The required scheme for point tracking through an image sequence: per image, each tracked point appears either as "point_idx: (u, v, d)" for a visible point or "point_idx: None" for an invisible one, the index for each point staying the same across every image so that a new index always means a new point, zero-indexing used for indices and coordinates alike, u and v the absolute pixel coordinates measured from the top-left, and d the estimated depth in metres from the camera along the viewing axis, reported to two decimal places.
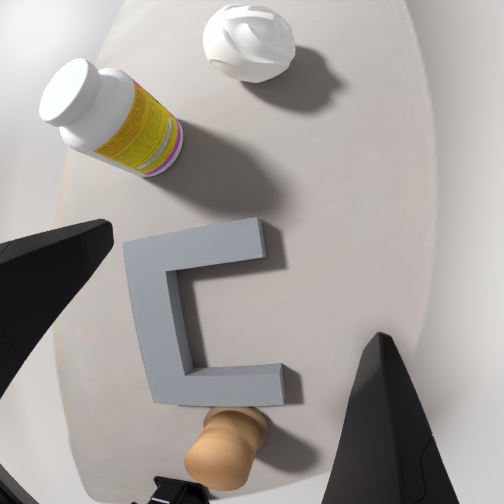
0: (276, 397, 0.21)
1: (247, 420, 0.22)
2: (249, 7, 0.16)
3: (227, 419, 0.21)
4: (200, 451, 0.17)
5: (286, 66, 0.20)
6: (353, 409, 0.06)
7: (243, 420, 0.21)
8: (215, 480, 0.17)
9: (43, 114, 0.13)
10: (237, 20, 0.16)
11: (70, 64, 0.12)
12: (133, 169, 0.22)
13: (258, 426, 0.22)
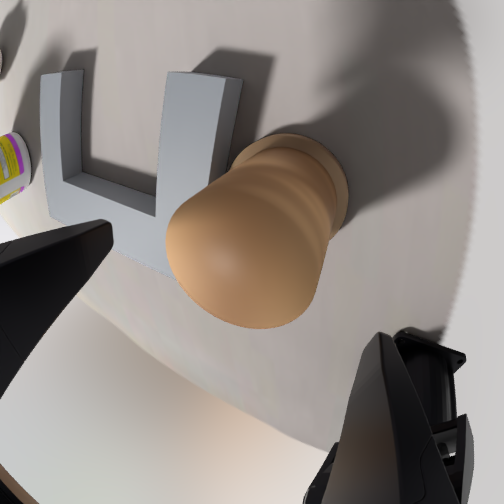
0: (207, 86, 0.11)
1: None
2: None
3: None
4: (174, 260, 0.10)
5: None
6: (353, 409, 0.06)
7: None
8: (271, 289, 0.09)
9: None
10: None
11: None
12: (7, 181, 0.18)
13: (284, 148, 0.12)
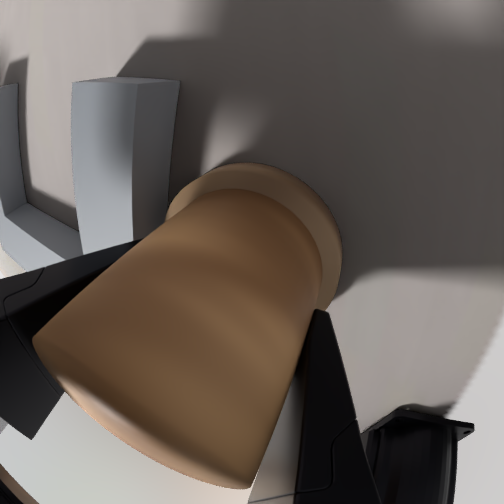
0: (116, 99, 0.06)
1: (183, 208, 0.08)
2: None
3: None
4: (63, 387, 0.05)
5: None
6: None
7: None
8: (186, 464, 0.04)
9: None
10: None
11: None
12: None
13: (238, 191, 0.08)
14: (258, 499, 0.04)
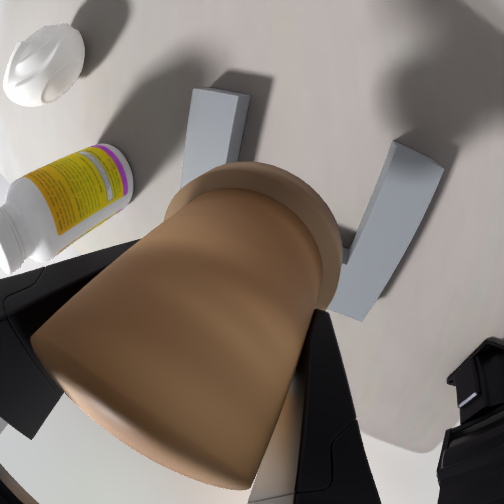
0: (430, 171, 0.13)
1: (182, 207, 0.08)
2: (8, 62, 0.12)
3: None
4: (61, 388, 0.05)
5: (72, 32, 0.14)
6: None
7: None
8: (185, 465, 0.04)
9: (7, 270, 0.14)
10: (11, 73, 0.12)
11: None
12: (110, 204, 0.20)
13: (238, 190, 0.08)
14: (258, 499, 0.04)
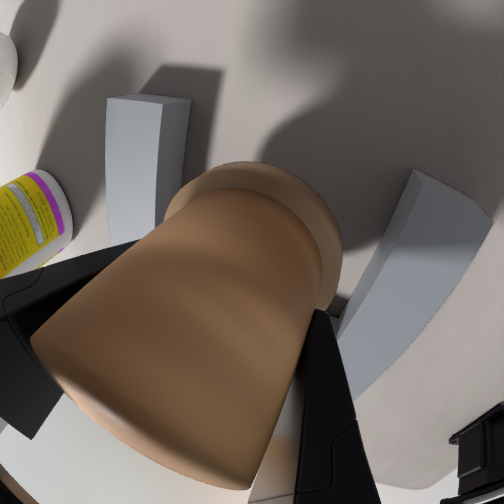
0: (471, 225, 0.07)
1: (182, 207, 0.08)
2: None
3: None
4: (61, 387, 0.05)
5: None
6: None
7: None
8: (185, 464, 0.04)
9: None
10: None
11: None
12: (42, 248, 0.15)
13: (238, 190, 0.08)
14: (258, 499, 0.04)
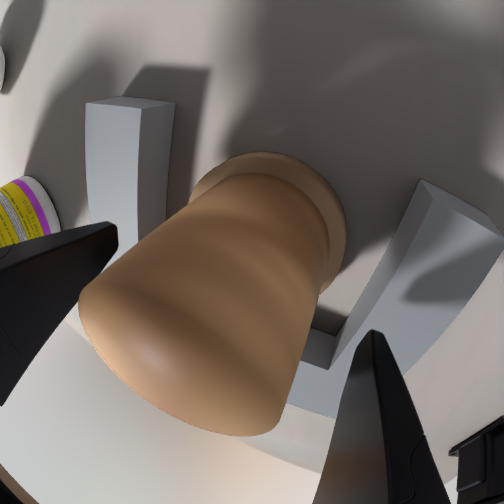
0: (484, 245, 0.06)
1: (208, 189, 0.09)
2: None
3: None
4: (98, 347, 0.06)
5: None
6: (345, 407, 0.06)
7: None
8: (218, 406, 0.05)
9: None
10: None
11: None
12: None
13: (257, 175, 0.09)
14: None
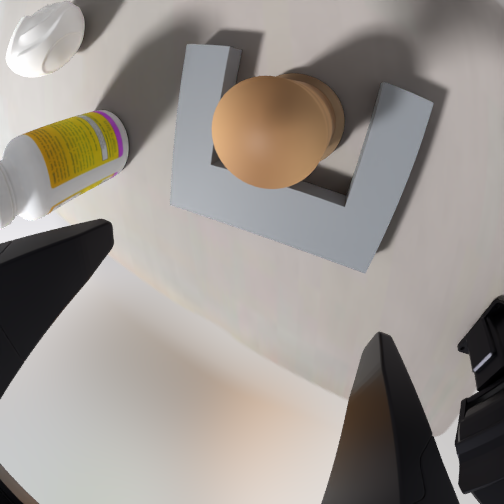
0: (419, 104, 0.12)
1: None
2: None
3: None
4: (217, 137, 0.12)
5: (74, 7, 0.13)
6: (353, 409, 0.06)
7: None
8: (293, 145, 0.11)
9: None
10: (14, 44, 0.11)
11: None
12: (104, 163, 0.20)
13: None
14: None
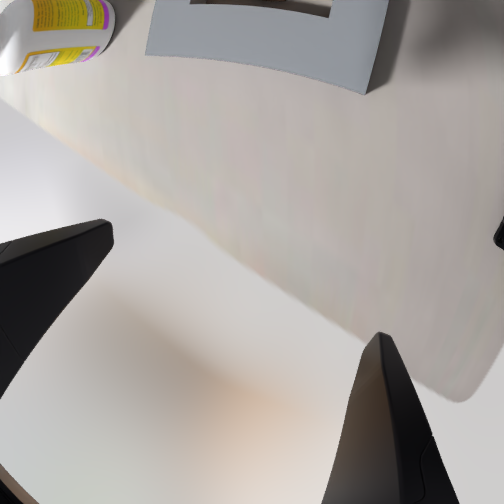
0: None
1: None
2: None
3: None
4: None
5: None
6: (353, 409, 0.06)
7: None
8: None
9: None
10: None
11: None
12: (88, 29, 0.14)
13: None
14: None
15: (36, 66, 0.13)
